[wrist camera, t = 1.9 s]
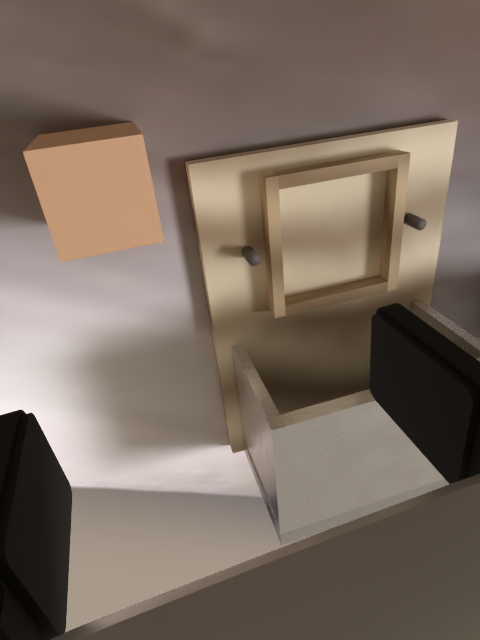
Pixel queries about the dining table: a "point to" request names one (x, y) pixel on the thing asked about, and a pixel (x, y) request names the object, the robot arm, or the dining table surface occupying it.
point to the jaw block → (95, 189)
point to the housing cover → (333, 450)
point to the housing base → (316, 254)
